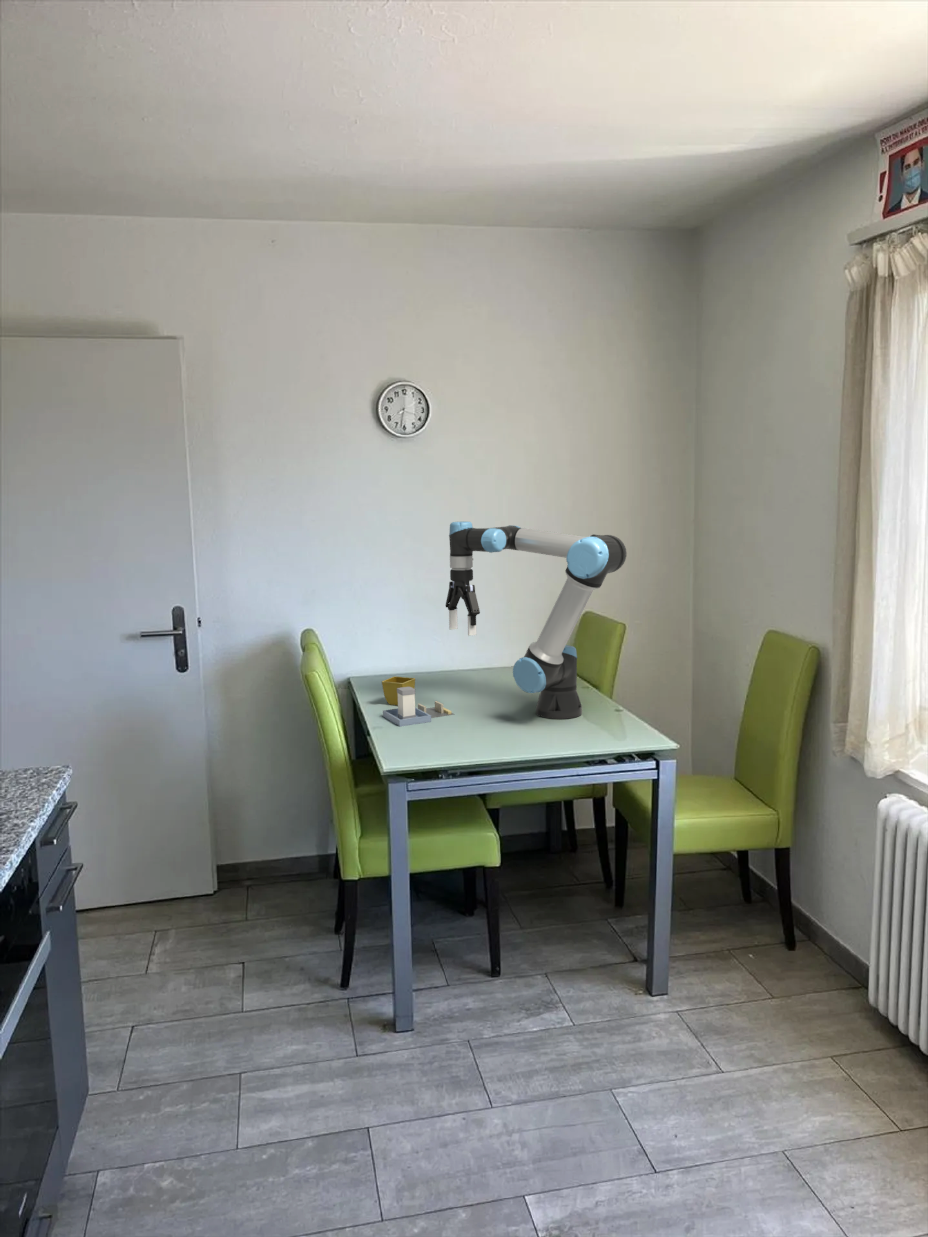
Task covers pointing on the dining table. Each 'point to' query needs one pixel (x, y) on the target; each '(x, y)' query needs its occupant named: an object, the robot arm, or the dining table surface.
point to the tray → (420, 718)
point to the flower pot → (395, 688)
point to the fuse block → (435, 710)
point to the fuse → (406, 702)
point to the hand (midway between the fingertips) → (462, 632)
